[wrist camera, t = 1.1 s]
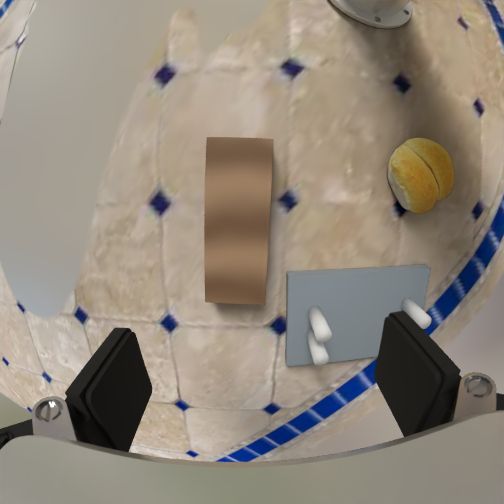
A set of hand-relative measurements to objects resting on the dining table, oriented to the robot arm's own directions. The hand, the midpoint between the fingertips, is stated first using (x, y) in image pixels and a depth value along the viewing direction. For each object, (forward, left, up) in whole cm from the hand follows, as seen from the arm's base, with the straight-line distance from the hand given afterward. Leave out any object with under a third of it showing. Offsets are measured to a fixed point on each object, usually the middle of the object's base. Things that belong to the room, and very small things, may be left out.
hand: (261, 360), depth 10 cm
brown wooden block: (-2, -2, -22) cm, 22 cm away
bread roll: (-7, +19, -22) cm, 30 cm away
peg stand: (+10, +12, -21) cm, 27 cm away
